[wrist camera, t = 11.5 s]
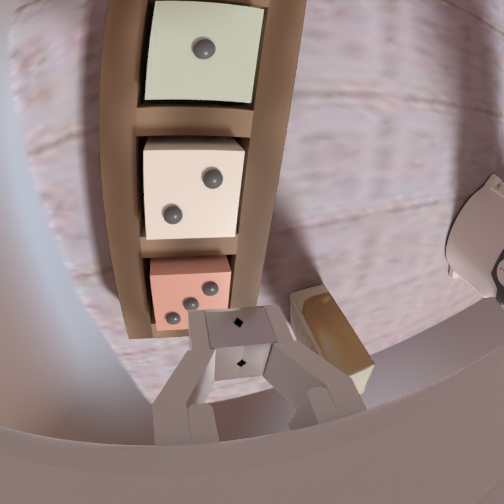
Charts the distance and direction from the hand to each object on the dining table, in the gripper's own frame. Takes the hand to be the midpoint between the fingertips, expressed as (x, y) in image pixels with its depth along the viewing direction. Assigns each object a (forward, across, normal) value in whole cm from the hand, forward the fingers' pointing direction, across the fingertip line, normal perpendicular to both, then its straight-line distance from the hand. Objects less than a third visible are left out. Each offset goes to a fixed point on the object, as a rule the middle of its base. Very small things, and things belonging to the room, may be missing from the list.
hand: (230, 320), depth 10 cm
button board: (+16, +1, 0) cm, 16 cm away
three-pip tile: (+15, +1, +9) cm, 18 cm away
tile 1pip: (+15, +1, -9) cm, 18 cm away
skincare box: (+16, -13, +16) cm, 26 cm away
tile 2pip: (+15, +1, 0) cm, 15 cm away
